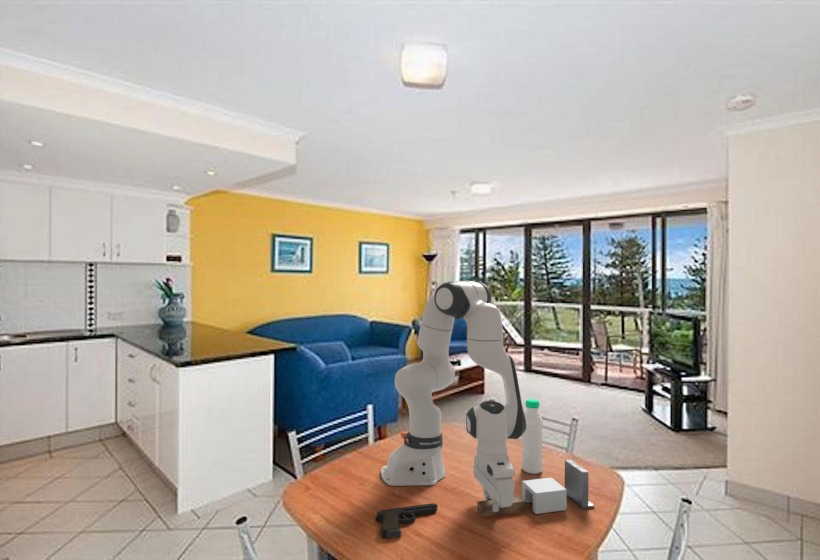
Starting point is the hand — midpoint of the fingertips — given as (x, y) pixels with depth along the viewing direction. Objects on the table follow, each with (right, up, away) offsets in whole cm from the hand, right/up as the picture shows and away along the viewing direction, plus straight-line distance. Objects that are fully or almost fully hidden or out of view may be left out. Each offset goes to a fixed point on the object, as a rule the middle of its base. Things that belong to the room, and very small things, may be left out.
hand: (491, 506), depth 126 cm
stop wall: (+27, -2, +7) cm, 28 cm away
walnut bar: (+3, -2, +1) cm, 4 cm away
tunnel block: (+17, -2, +4) cm, 17 cm away
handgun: (-23, -2, -5) cm, 24 cm away
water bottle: (+20, -2, +29) cm, 35 cm away
